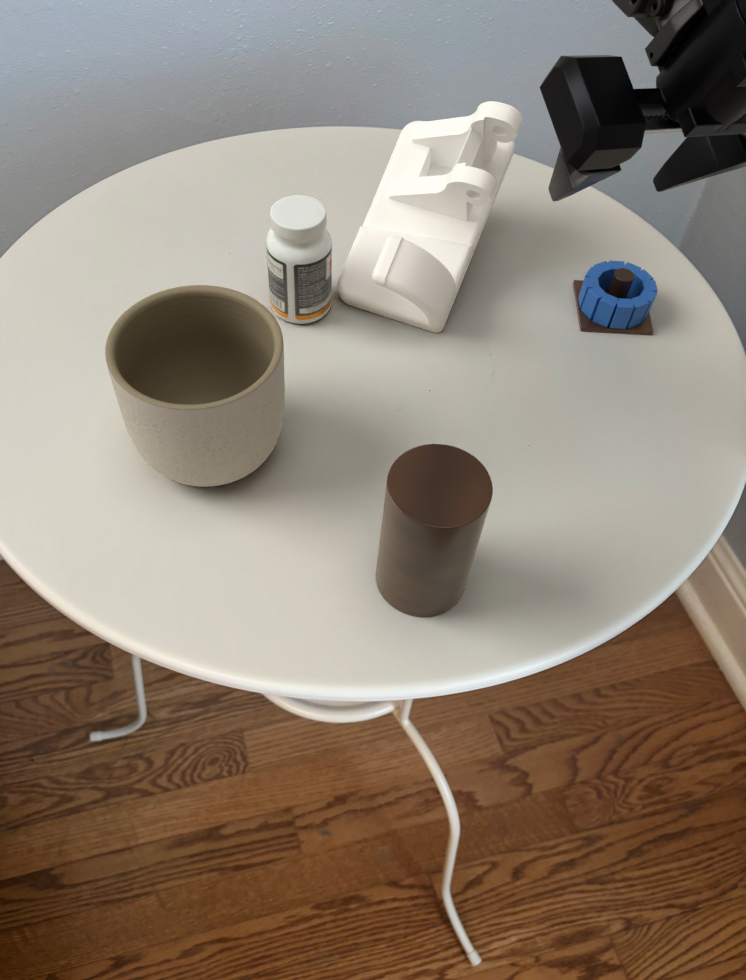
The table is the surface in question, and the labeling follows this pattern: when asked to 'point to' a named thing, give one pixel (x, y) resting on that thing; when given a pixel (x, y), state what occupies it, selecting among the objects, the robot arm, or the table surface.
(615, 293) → the peg stand
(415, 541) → the pedestal
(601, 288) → the tape roll
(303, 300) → the pill bottle
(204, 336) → the planter
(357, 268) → the tape dispenser
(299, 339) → the table surface
